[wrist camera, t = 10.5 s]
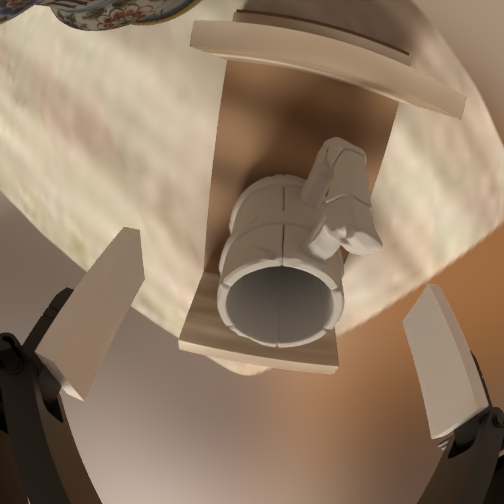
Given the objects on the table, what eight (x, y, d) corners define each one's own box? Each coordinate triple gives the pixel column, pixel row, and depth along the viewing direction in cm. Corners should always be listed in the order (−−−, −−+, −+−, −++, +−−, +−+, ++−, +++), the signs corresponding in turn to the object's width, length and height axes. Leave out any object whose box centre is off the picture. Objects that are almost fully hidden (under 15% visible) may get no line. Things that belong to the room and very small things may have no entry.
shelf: (240, 14, 14) (205, -33, 6) (401, 54, 14) (474, 47, 6) (205, 291, 29) (180, 367, 21) (316, 311, 29) (320, 390, 21)
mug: (219, 233, 23) (174, 356, 13) (286, 100, 16) (292, 125, 7) (300, 270, 24) (302, 397, 14) (379, 155, 18) (468, 248, 8)
